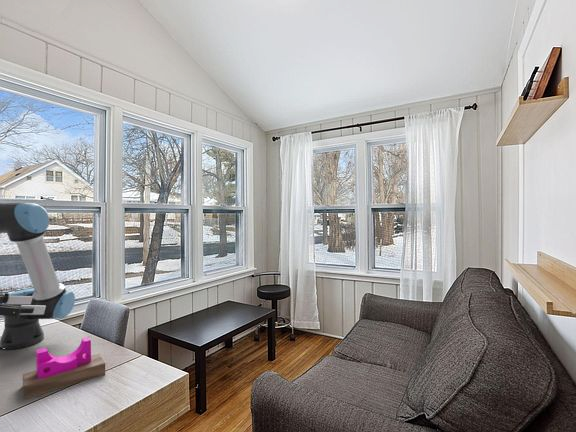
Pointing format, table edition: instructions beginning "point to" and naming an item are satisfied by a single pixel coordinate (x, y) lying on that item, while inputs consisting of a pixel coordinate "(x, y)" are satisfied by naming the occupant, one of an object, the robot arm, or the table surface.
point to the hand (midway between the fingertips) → (37, 305)
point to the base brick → (62, 377)
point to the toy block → (62, 360)
